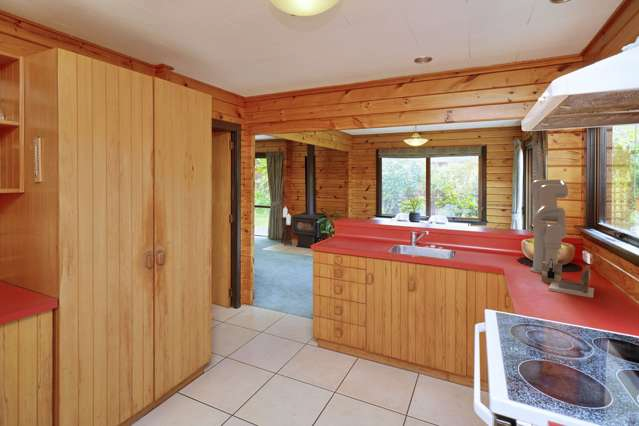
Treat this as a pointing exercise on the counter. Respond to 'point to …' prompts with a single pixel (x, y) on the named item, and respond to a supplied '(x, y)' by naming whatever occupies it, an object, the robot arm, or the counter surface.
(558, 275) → the beige rectangular block
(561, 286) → the white tile with rails
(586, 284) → the cabinet side
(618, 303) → the counter surface
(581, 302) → the counter surface
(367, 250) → the counter surface
